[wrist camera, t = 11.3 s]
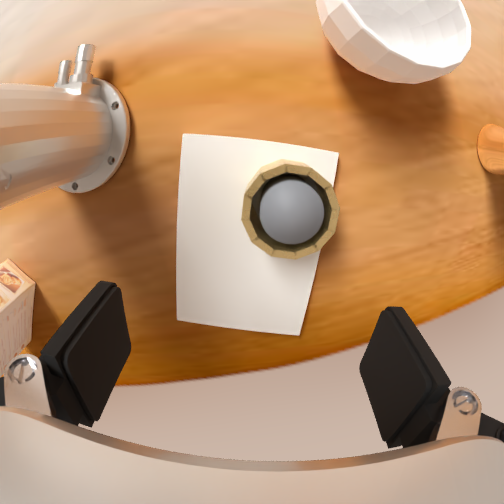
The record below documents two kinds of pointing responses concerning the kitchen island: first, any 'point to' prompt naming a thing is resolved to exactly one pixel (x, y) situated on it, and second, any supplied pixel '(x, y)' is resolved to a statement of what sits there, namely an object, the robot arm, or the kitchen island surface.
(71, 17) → the kitchen island surface
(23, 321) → the coffeecake box
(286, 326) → the stand
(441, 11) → the cup
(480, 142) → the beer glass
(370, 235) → the kitchen island surface
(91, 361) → the robot arm
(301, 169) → the brass ring
